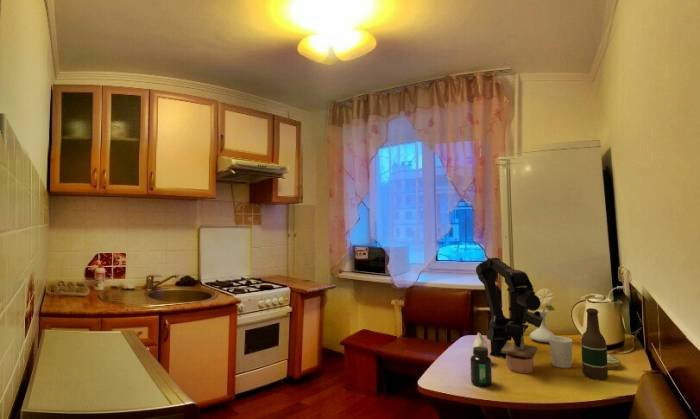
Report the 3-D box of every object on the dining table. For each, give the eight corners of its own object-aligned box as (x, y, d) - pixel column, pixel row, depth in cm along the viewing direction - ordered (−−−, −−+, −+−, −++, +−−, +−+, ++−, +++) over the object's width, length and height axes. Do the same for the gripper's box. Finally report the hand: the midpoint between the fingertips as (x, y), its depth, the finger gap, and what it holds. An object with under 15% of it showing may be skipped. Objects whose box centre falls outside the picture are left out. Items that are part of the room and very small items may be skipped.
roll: (487, 335, 146) (472, 334, 148) (488, 366, 146) (473, 365, 148) (487, 331, 152) (472, 330, 154) (488, 361, 151) (473, 359, 153)
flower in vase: (524, 338, 180) (522, 285, 181) (544, 336, 183) (542, 284, 183) (544, 347, 167) (542, 290, 168) (565, 344, 170) (563, 289, 171)
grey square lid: (501, 352, 142) (500, 339, 142) (507, 344, 151) (506, 332, 152) (533, 358, 136) (532, 344, 136) (537, 349, 145) (536, 336, 146)
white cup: (576, 369, 142) (575, 342, 142) (553, 368, 143) (552, 341, 144) (568, 361, 149) (567, 336, 150) (547, 360, 151) (546, 335, 151)
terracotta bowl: (505, 370, 142) (504, 356, 142) (509, 362, 150) (509, 349, 150) (531, 375, 137) (530, 361, 137) (534, 366, 145) (534, 353, 145)
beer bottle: (577, 372, 139) (574, 307, 140) (597, 371, 139) (594, 306, 140) (592, 381, 131) (589, 312, 132) (613, 380, 132) (610, 311, 133)
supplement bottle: (486, 389, 126) (485, 353, 127) (467, 384, 131) (466, 349, 131) (495, 383, 131) (493, 348, 132) (476, 377, 136) (475, 344, 136)
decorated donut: (624, 365, 145) (624, 355, 145) (616, 373, 138) (616, 362, 138) (593, 358, 153) (593, 349, 153) (584, 365, 146) (584, 355, 146)
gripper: (537, 312, 132) (539, 357, 132) (544, 302, 148) (545, 342, 147) (504, 308, 138) (505, 351, 138) (513, 299, 154) (515, 337, 153)
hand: (519, 345), depth 144 cm, fingers closed on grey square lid, 3 cm apart
